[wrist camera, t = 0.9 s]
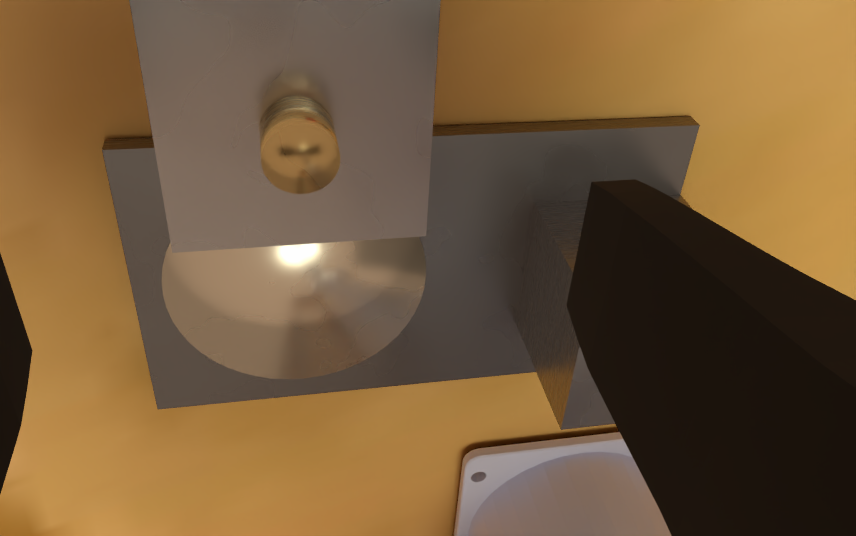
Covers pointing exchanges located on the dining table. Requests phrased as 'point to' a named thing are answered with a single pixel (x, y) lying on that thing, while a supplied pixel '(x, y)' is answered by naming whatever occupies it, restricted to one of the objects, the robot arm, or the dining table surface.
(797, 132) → the dining table surface
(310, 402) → the dining table surface
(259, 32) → the block
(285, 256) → the plate
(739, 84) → the dining table surface
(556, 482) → the robot arm
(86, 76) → the dining table surface
